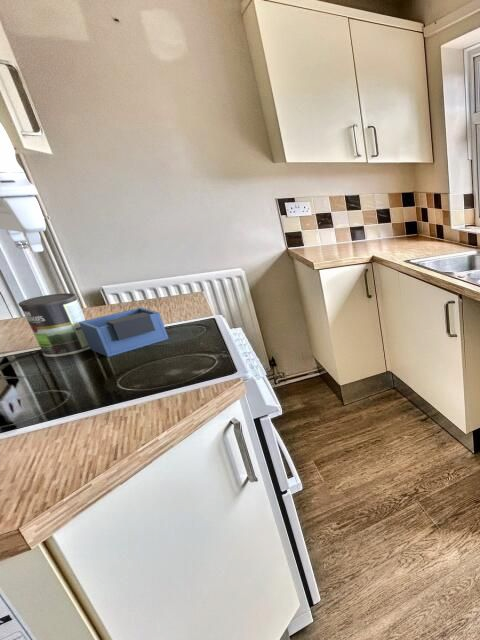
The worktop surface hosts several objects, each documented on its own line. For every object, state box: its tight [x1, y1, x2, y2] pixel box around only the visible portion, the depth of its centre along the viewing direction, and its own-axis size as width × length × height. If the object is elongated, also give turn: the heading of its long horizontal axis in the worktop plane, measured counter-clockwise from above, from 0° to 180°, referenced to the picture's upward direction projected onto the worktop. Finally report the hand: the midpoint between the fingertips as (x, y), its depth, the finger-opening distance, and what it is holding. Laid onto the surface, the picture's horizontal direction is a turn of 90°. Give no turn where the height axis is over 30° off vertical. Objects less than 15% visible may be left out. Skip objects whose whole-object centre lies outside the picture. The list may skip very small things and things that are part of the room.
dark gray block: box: [106, 313, 155, 340], centre depth 111 cm, size 8×4×5 cm, turn 151°
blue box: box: [79, 307, 169, 358], centre depth 114 cm, size 14×11×8 cm
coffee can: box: [18, 292, 91, 358], centre depth 110 cm, size 10×10×14 cm
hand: (30, 250), depth 98 cm, fingers open, 8 cm apart
